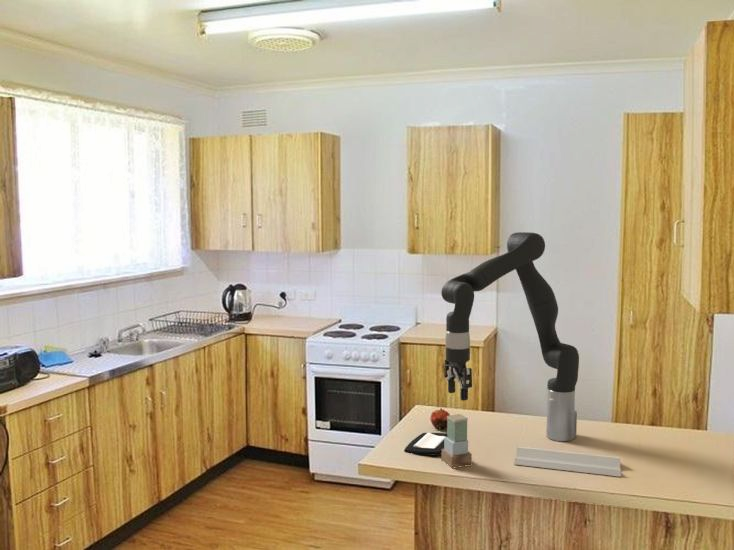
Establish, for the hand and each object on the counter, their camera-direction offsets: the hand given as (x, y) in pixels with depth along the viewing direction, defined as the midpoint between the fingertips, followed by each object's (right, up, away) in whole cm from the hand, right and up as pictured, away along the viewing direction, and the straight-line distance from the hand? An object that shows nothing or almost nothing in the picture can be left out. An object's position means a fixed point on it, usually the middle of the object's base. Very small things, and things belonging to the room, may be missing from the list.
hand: (457, 396), depth 204 cm
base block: (0, -22, +3) cm, 22 cm away
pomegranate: (-1, -18, +34) cm, 39 cm away
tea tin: (0, -14, +2) cm, 14 cm away
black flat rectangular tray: (-7, -21, +18) cm, 28 cm away
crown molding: (+34, -22, +1) cm, 41 cm away
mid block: (0, -18, +2) cm, 18 cm away
